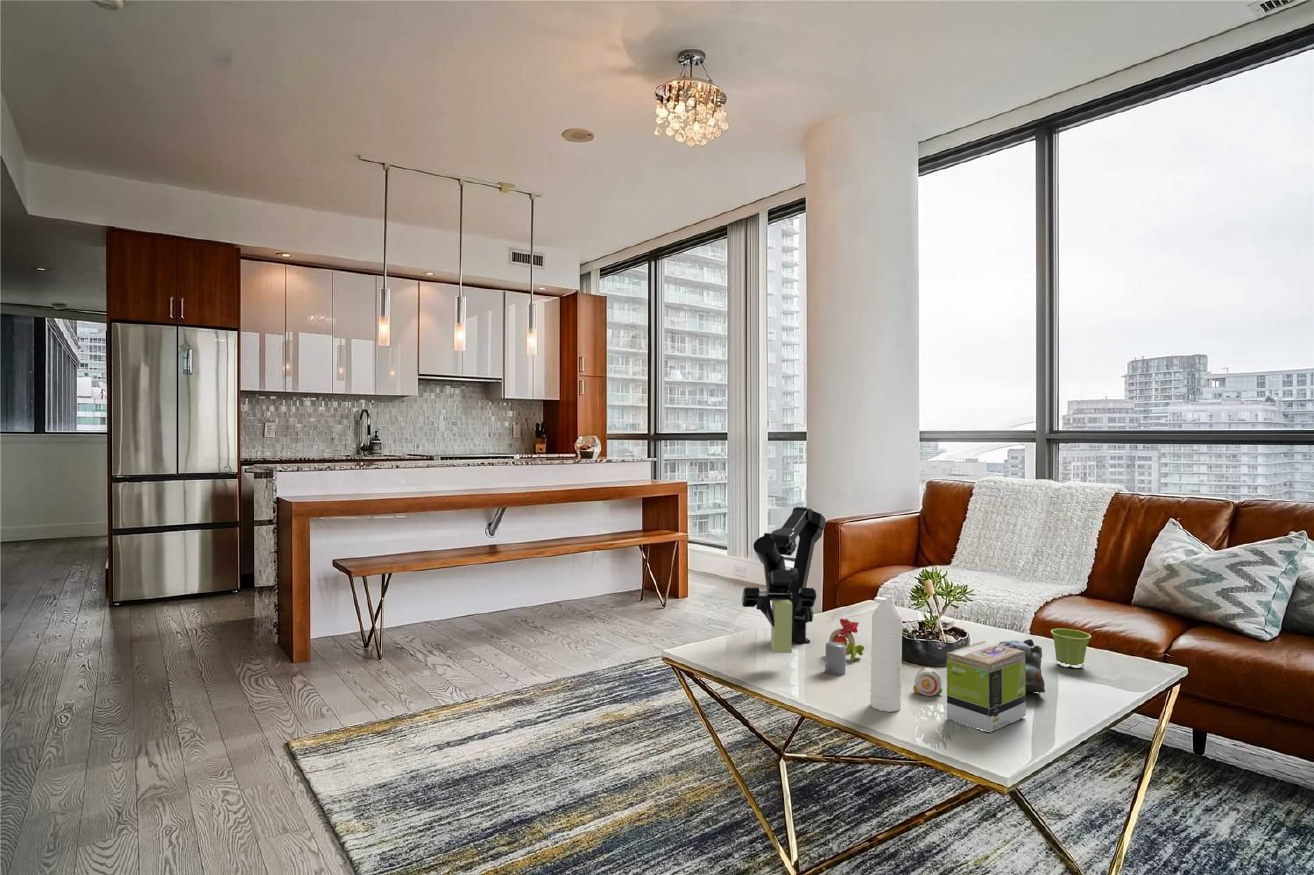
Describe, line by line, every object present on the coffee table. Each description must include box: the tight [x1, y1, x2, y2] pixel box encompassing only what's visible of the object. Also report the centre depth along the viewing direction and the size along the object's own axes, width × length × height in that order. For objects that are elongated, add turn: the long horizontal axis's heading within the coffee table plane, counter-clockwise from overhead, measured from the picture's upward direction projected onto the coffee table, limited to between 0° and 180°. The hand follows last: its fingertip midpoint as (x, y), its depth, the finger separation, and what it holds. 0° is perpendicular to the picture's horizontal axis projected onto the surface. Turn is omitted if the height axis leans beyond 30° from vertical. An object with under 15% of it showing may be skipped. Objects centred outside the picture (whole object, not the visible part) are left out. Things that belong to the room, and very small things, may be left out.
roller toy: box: [912, 667, 943, 697], centre depth 176 cm, size 4×6×6 cm
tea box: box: [946, 641, 1027, 733], centre depth 161 cm, size 15×10×15 cm, turn 127°
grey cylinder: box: [824, 642, 847, 677], centre depth 191 cm, size 5×5×7 cm
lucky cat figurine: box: [997, 638, 1046, 694], centre depth 180 cm, size 15×12×14 cm
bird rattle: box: [828, 618, 865, 662], centre depth 203 cm, size 6×11×9 cm
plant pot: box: [1050, 628, 1092, 665], centre depth 199 cm, size 9×9×9 cm
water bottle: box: [869, 594, 904, 713], centre depth 166 cm, size 9×6×25 cm
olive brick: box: [770, 600, 793, 654], centre depth 192 cm, size 4×4×12 cm
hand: (782, 626), depth 190 cm, fingers closed on olive brick, 4 cm apart
